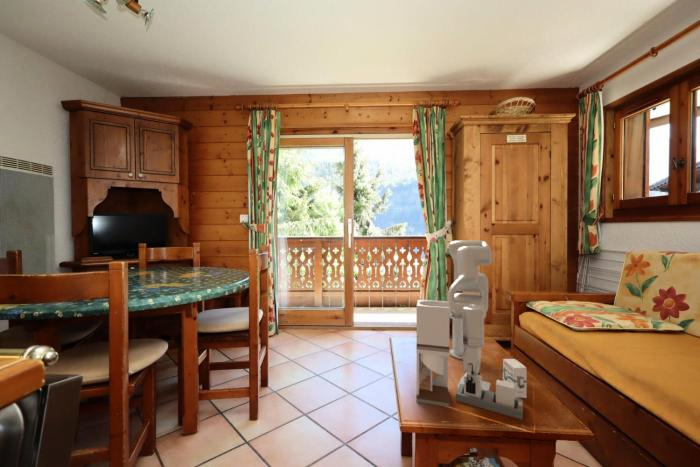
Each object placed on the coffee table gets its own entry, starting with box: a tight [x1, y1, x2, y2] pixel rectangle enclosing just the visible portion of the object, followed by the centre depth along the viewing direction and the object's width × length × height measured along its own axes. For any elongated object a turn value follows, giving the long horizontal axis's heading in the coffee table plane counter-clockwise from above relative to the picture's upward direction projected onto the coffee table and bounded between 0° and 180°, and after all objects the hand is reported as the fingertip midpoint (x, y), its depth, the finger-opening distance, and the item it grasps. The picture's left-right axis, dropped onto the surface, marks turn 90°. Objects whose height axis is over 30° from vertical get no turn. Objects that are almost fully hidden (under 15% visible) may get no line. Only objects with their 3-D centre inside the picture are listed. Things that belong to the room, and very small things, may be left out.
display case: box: [415, 299, 450, 408], centre depth 109 cm, size 11×11×35 cm
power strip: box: [455, 384, 524, 421], centre depth 103 cm, size 8×21×4 cm, turn 58°
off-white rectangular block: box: [495, 379, 516, 408], centre depth 100 cm, size 4×6×9 cm
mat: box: [456, 375, 491, 391], centre depth 116 cm, size 11×11×1 cm
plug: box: [463, 372, 483, 399], centre depth 106 cm, size 4×6×9 cm
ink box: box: [502, 358, 528, 399], centre depth 111 cm, size 9×5×12 cm, turn 0°
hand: (472, 386), depth 106 cm, fingers open, 9 cm apart
